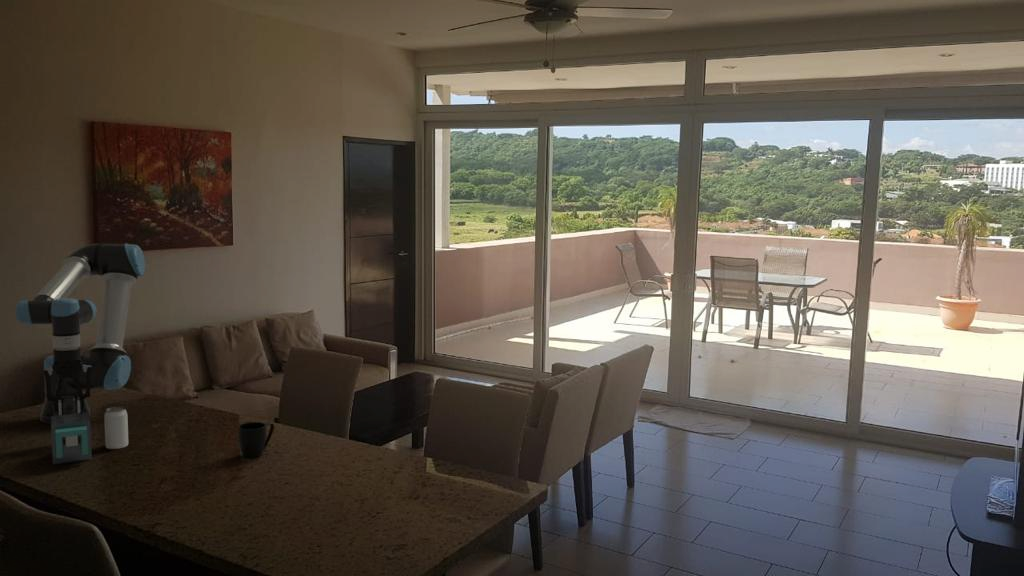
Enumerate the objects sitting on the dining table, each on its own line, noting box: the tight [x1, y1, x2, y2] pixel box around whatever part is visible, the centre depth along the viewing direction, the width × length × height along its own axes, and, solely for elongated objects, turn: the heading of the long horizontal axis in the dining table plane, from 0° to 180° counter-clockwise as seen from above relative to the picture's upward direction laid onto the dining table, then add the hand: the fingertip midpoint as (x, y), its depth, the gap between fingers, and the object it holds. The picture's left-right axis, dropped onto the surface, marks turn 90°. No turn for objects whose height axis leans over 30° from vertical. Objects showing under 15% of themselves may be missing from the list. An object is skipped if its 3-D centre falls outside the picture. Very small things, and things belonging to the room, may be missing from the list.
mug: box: [237, 421, 275, 460], centre depth 242 cm, size 8×12×10 cm
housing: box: [50, 412, 93, 465], centre depth 235 cm, size 10×10×12 cm
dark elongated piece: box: [61, 395, 78, 447], centre depth 238 cm, size 26×4×9 cm, turn 30°
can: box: [104, 406, 129, 450], centre depth 246 cm, size 6×6×12 cm
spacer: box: [55, 426, 88, 458], centre depth 229 cm, size 4×8×8 cm, turn 120°
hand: (69, 420), depth 248 cm, fingers closed on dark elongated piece, 4 cm apart
